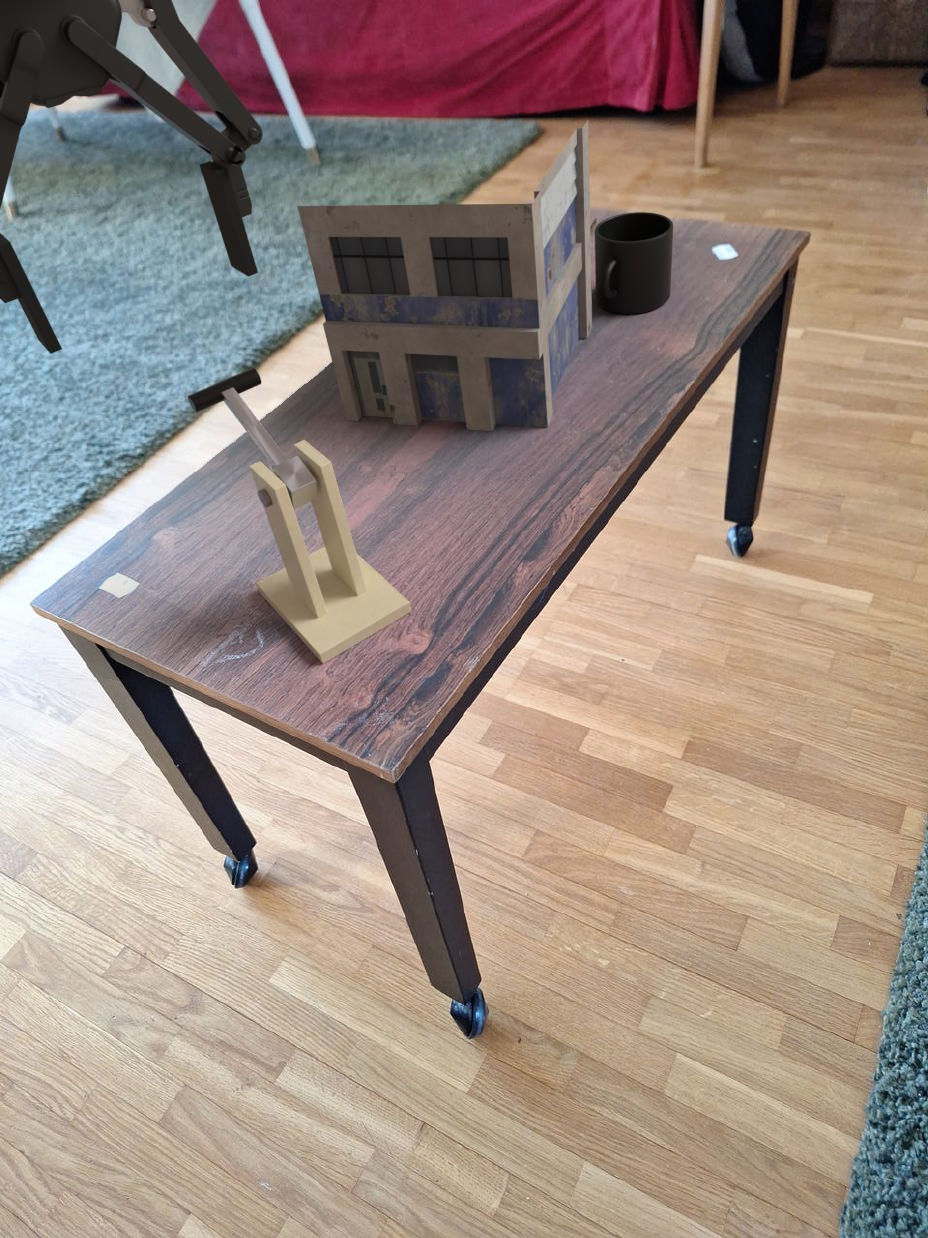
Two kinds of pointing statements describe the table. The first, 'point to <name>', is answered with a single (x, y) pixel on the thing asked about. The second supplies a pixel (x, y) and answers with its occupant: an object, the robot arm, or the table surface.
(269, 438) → the lever
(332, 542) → the bracket
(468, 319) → the building
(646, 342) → the table surface
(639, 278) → the mug
